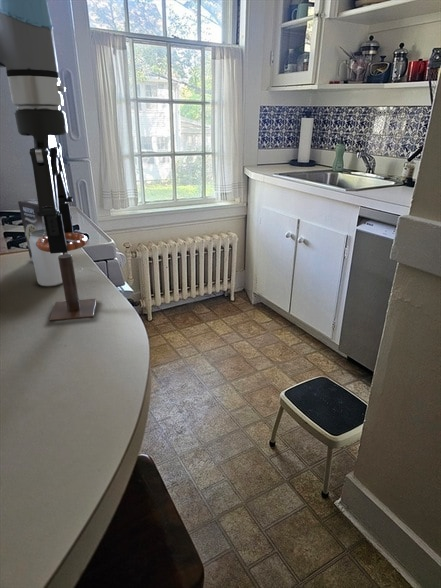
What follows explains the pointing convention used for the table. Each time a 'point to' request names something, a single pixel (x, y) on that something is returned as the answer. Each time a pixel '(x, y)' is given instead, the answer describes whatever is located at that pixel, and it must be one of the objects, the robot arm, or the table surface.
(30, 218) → the coffee box
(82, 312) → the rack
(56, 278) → the can
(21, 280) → the table surface
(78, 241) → the ring
